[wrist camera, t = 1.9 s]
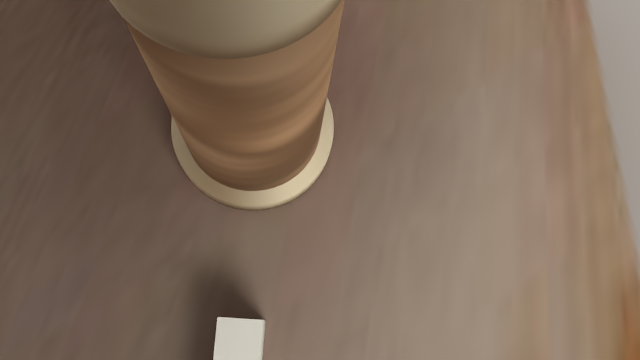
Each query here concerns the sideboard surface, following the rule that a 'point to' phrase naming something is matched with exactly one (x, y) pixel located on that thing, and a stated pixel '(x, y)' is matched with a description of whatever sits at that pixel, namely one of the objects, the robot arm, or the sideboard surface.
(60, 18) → the sideboard surface
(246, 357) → the white u-shaped piece
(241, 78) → the bobbin
